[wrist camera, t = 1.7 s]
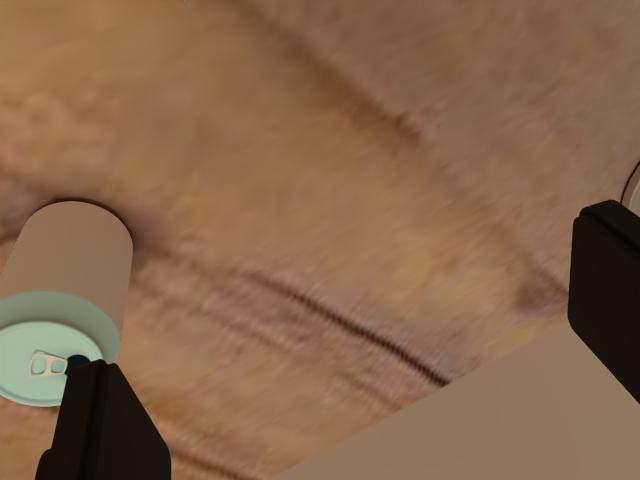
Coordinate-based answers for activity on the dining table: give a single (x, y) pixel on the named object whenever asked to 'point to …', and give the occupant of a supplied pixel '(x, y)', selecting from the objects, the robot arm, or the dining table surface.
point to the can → (61, 299)
